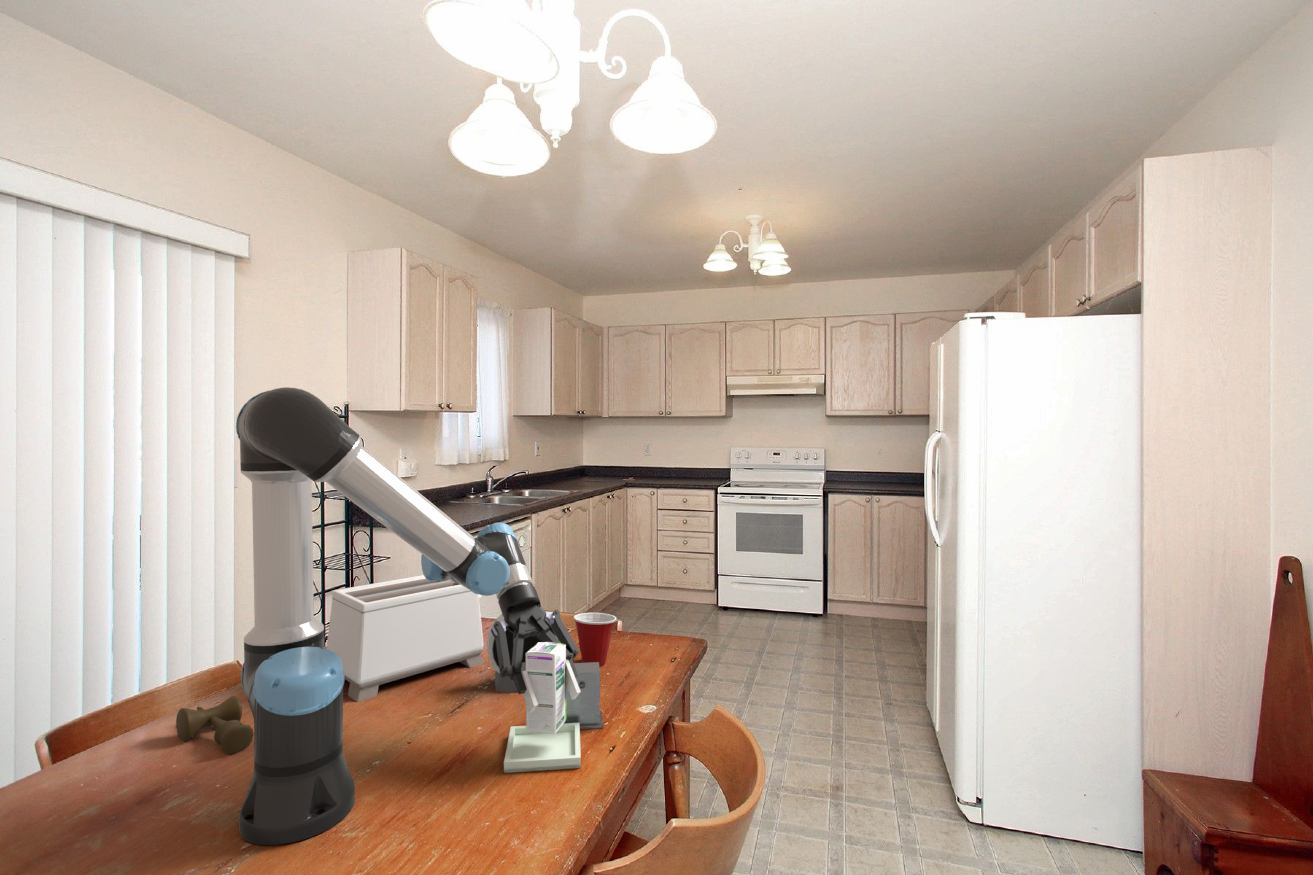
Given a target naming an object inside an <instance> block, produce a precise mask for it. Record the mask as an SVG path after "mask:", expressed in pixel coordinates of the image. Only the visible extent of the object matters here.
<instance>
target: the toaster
mask: <svg viewBox="0 0 1313 875" xmlns="http://www.w3.org/2000/svg"><path fill="white" fill-rule="evenodd" d="M481 598H482V595H480V594H475V593H473V592H472V591H471V590H469V589H468V588H466V587H464V586H462V585H460V584H458V583H456V582H454V581H452V580H450V579H447V580H443V581H429V580H427V579H426V578H425V576H424V574H421V575H417V576H411V577H404V578H399V579H393V580H388V581H382V582H376V583H375V582H374V583H367V584H364V585H358V586H357V585H356V586H352V587H346V588H341V589H334V590H333V591H332V594H331V599H332V600H331V609H330V616H329V624H328V633H327V634H328V635H327V642H326V649H329V650H332V651H334V652H335V653H336V654H338V655H339V657H340V658H341V660H342V664H343V671H344V676H345V677H344V681H347V682H348V683H349V687H348V690H347V691H348V692H347V696H348V697H349V696H350V698H351V699H353V701H355V702H356V701H357V702H356V703H359V701H360V702H363V701H366V700H370V699H373V698H375V697H377V696H378V691H379V686H381V685H384V684H386V683H391V682H393V681H394V682H395V681H398V680H400V679H404V678H407V677H412V676H414V675H417V674H421V673H425V672H428V671H431V670H435V669H437V668H442V667H445V666H448V665H451V664H455V663H460V664H462V665H463V666H465V667H468V668H474V667H477V666H480V665H483V664H485V662H486V661H485V660H484V659H483V657H482V655H481V654H482V653H483V652H484V650H483V648H484V635H483V634H484V633H483V626H482V616H481V615H482V614H481V607H480V599H481ZM365 699H366V700H365Z"/></svg>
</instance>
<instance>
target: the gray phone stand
mask: <svg viewBox="0 0 1313 875" xmlns="http://www.w3.org/2000/svg"><path fill="white" fill-rule="evenodd" d="M573 663H574V666H575V668H576V671H577V676H576V681H577V683H578V686H579V689H580V691H581V692H580V694H579V695H578V696H577V697H576V699H573V700H572V699H571V696H570V694H569V691H568V688H567V686H566V721H565V722H564V723H579V725H580V730H589V729H590V730H591V729H593V730H595V729H604V719H603V712H602V711H601V702H600V701H601V696H600V695H601V669H600V668H601V667H599V662H592V663H583V662H573ZM564 723H563V724H564Z"/></svg>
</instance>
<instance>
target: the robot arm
mask: <svg viewBox="0 0 1313 875" xmlns="http://www.w3.org/2000/svg"><path fill="white" fill-rule="evenodd" d="M235 429H236V434H237V438H238V440H239V455H240V457H239V458H240V459H239V460H240V461H239V462H240V466H239V467H240V474H242V475H243V476H244V477H246V478H247V479H248V480H250V482H251V494H252V495H251V499H252V500H251V501H252V503H251V504H252V505H251V506H252V550H253V552H252V553H253V555H252V557H253V558H252V559H253V562H252V563H253V564H252V565H253V599H254V600H253V603H254V604H253V606H254V607H253V608H254V610H253V612H254V613H253V615H254V626H253V627H252V628H251V629H250V631H248V632H247V634H245V636H244V637H243V663H242V669H241V672H240V683H241V684H240V685H241V688H242V690H243V694H245V696H246V699H247V702H248V704H249V707H250V711H251V715H252V717H253V734H254V735H253V761H254V762H253V765H254V766H253V773H252V776H251V778H250V779H251V780H250V783H249V785H248V788H247V791H246V793H245V797H244V800H243V803H242V804H241V805H242V806H241V807H240V811H239V816H238V817H239V819H238V820H239V825H238V826H239V829H238V830H239V835H240V836H241V837H242V839H243V840H245V841H247V842H249V843H251V844H255V845H260V846H278V845H279V846H280V845H284V844H285V845H286V844H291V843H296V842H298V841H303V840H306V839H308V838H311V837H315V836H317V835H319V834H322V833H323V832H326V831H327V830H328V829H330V828H333V827H334V826H336V825H337V824H338V823H340V821H343V819H345V818H346V817H347V815H348V814H350V812H351V811H352V809H353V807H354V806H355V802H356V800H355V799H356V794H355V793H356V791H355V790H356V786H355V782H354V779H353V776H352V773H351V771H350V768H349V766H348V763H347V761H346V758H345V755H344V752H343V751H344V750H343V747H344V746H343V745H344V744H343V740H344V739H343V738H344V736H343V732H344V730H343V729H344V727H343V726H344V685H345V680H344V677H345V676H344V671H343V664H342V660H341V658H340V657H339V655H338V654H336V653H335V652H334V651H332V650H329V649H327V648H325V625H324V624H323V622H321V621H319V620H317V619H316V618H315V611H314V607H315V606H314V598H315V596H314V556H313V555H314V554H313V553H314V551H313V550H314V549H313V548H314V545H313V494H312V493H313V491H312V490H313V489H312V488H313V486H312V485H313V484H312V481H313V482H314V483H327V484H328V485H329V486H331V487H332V488H333V489H335V490H336V491H337V492H339V493H340V494H342V495H343V496H344V497H346V498H347V499H348V501H351V502H352V503H353V504H355V505H356V506H357V507H359V508H360V509H361V510H363V511H364V512H366V513H367V514H368V515H369V516H370V517H372V518H373V519H375V520H376V521H377V522H379V523H380V524H381V525H382V526H384V527H386V528H387V529H388V530H390V531H391V532H392V533H393V534H395V535H396V536H397V537H399V538H400V539H401V540H403V541H404V542H405V543H407V544H409V545H410V546H411V547H412V548H414V549H415V550H416V551H418V553H420V554H421V555H420V556H421V562H420V564H421V570H422V571H421V572H422V575H424V576H425V578H426V579H427V580H429V581H443V580H447V579H450V580H452V581H454V582H456V583H458V584H460V585H462V586H464V587H466V588H468V589H469V590H471V591H472V592H473V593H475V594H479V595H481V596H486V597H488V596H494V595H495V598H497V603H498V605H499V606H498V607H499V609H500V611H501V614H502V615H503V617H504V621H502V622H499V621H496V622H495V621H494V622H495V623H494V622H493V623H494V625H493V627H492V629H491V632H492V634H493V636H494V638H495V641H496V648H497V655H498V662H499V669H500V675H501V677H506V676H509V677H510V679H511V680H514V683H515V686H516V689H517V692H516V693H518V694H519V695H522V696H523V698H524V701H525V706H526V705H527V708H528V711H529V713H530V712H533V711H534V710H535V708H536V707H537V706H538V703H537V700H536V697H535V694H534V691H533V688H532V685H531V682H530V680H529V677H528V674H527V671H526V670H525V671H522V672H521V668H522V655H523V643H524V639H525V638H527V637H529V636H530V637H534V636H536V637H537V638H538V639H539V640H542V641H543V642H554V643H561V644H565V645H566V686H567V688H568V691H569V694H570V696H571V699H572V700H573V699H576V697H577V696H578V695H579V694H580V692H581V691H580V689H579V686H578V683H577V681H576V676H577V671H576V668H575V666H574V663H575V662H574V659H575V658H576V657H577V655H579V653H580V648H578V646H577V644H576V643H575V641H574V639H573V637H572V636H571V634H570V632H569V631H568V629H567V628H566V625H565V624H564V622H563V621H562V618H561V617H562V616H561V612H560V610H559V609H554V610H553V611H552V612H551V611H550V612H549V611H546V610H544V608H543V607H542V605H541V600H540V597H539V594H538V592H537V589H536V587H535V586H534V581H533V578H532V577H531V574H530V572H529V569H528V567H527V563H526V561H525V559H524V555H523V554H522V551H521V547H520V546H519V540H518V538H517V537H516V535H515V532H514V531H513V529H512V527H511V526H510V525H509V524H507V523H504V522H493V523H492V524H491V525H489V524H487V525H486V526H484V527H483V528H481V529H480V531H479V532H477V535H476V537H474V536H473V535H472V534H471V533H469V532H468V531H467V530H466V529H464V528H463V527H462V526H461V525H460V524H458V523H457V522H456V521H455V520H453V519H452V518H451V517H450V516H448V515H447V514H446V513H445V512H444V511H442V510H441V509H440V508H438V506H436V505H435V504H434V503H432V502H431V501H430V500H429V499H427V498H426V497H425V496H424V495H423V494H421V493H420V492H419V491H418V490H417V489H415V488H414V487H413V486H412V485H411V484H409V483H408V482H407V481H406V480H404V479H403V478H401V476H399V475H398V474H397V473H396V472H395V471H394V470H393V469H392V468H390V467H388V466H387V465H386V464H384V463H383V461H381V460H380V459H378V458H377V457H376V456H375V455H374V454H373V453H372V452H370V451H369V450H367V448H366V447H364V446H363V445H362V436H361V435H360V434H358V433H357V432H356V431H355V430H354V429H352V428H351V427H350V426H349V425H348V424H347V423H346V422H345V421H344V420H343V419H341V418H340V417H339V415H337V414H336V412H334V411H333V410H332V409H331V408H330V407H329V406H328V405H327V404H326V403H325V402H323V400H321V399H320V398H319V397H317V396H316V395H315V394H313V393H311V392H309V391H307V390H304V389H302V388H297V387H278V388H274V389H271V390H266V391H263V392H260V393H258V394H256V395H254V396H252V397H251V398H250V399H248V401H247V402H245V403H244V404H243V406H242V407H241V409H240V411H239V412H238V414H237V417H236V423H235ZM545 619H546V620H548V624H551V627H552V629H553V631H554V633H555V634H556V636H557V638H558V639H557V638H556V636H555V635H554V634H553V633H552V632H551V631H550V628H549V626H548V625H547V624H546V623H545ZM506 628H507V629H508V630H510V631H511V632H512V633H514V637H513V644H514V645H513V655H512V666H511V665H510V658H509V652H508V645H507V639H506V633H505V631H506ZM541 630H542V632H541Z"/></svg>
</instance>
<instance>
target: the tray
mask: <svg viewBox="0 0 1313 875" xmlns="http://www.w3.org/2000/svg"><path fill="white" fill-rule="evenodd" d="M581 753H582V752H581V729H580V725H579V723H564V724H563V725H562V726H561V727H560V729H559V730H558V731H557V732H556V734H544V733H535V732H529V731H527V730H526V725H515V726H514V725H513V726H512V725H511V726H510V729H509V735H508V739H507V744H506V750H505V756H504V760H503V774H507V773H508V774H510V773H523V772H525V773H526V772H537V771H541V772H542V771H553V770H554V771H555V770H570V769H581V768H582V766H581V764H582V763H581V762H582V757H581V755H582V754H581Z"/></svg>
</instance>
